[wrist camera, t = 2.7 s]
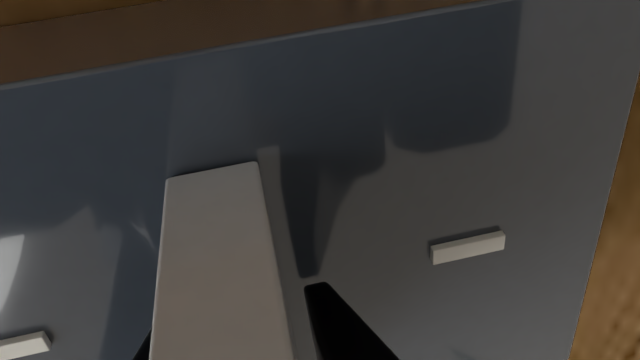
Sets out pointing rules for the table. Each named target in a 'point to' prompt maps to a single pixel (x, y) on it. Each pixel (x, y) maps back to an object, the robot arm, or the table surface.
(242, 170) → the tap knob
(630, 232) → the table surface
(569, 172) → the tap panel
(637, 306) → the table surface
